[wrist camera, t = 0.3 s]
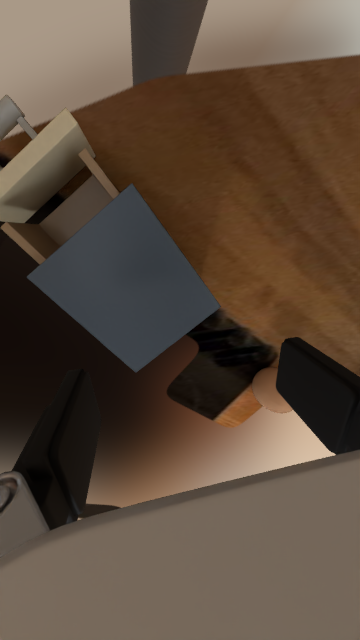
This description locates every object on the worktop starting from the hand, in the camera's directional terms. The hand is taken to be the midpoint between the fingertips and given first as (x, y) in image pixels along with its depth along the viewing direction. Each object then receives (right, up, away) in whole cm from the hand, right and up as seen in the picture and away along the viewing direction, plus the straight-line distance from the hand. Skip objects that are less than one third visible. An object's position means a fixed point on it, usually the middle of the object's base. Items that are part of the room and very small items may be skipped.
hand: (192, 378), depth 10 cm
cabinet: (-7, +9, +20) cm, 23 cm away
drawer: (-12, +15, +15) cm, 25 cm away
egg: (+16, -8, +32) cm, 36 cm away
